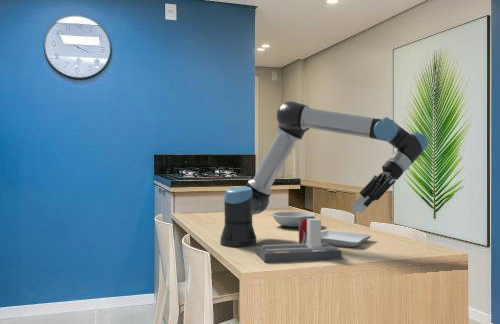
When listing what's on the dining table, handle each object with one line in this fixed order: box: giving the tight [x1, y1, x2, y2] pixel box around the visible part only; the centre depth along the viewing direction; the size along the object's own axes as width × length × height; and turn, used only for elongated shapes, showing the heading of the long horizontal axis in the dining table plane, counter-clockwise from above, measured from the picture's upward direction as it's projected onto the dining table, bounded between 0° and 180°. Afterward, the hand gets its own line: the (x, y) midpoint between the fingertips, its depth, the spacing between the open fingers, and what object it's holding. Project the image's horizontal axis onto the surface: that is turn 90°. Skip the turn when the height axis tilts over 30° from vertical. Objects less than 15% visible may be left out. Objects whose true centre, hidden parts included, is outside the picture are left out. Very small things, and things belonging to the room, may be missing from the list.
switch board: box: [256, 243, 342, 263], centre depth 164 cm, size 13×28×4 cm, turn 101°
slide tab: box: [306, 218, 322, 248], centre depth 165 cm, size 6×4×10 cm, turn 11°
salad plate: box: [321, 230, 372, 248], centre depth 192 cm, size 21×21×3 cm
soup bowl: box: [270, 210, 318, 228], centre depth 236 cm, size 24×24×7 cm
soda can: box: [298, 216, 316, 244], centre depth 182 cm, size 7×7×12 cm
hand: (355, 210), depth 169 cm, fingers open, 4 cm apart
